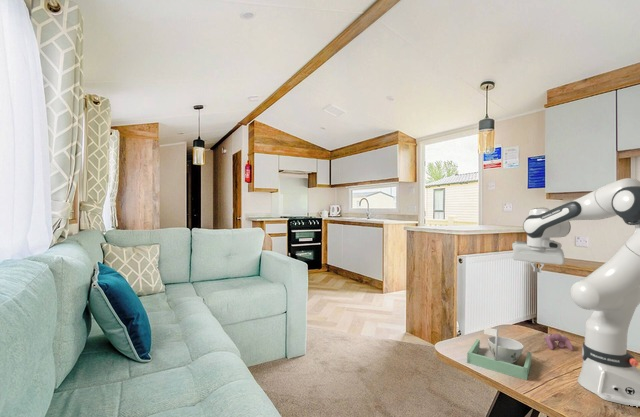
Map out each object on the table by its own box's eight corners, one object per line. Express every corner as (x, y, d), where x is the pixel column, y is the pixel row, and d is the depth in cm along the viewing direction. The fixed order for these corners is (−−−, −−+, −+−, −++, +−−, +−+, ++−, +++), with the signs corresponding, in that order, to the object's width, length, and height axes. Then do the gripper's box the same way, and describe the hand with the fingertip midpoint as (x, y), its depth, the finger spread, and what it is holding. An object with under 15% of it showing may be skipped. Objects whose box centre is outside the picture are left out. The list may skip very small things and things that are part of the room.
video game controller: (568, 351, 145) (564, 334, 148) (575, 350, 141) (570, 333, 144) (545, 350, 145) (541, 333, 148) (551, 349, 141) (547, 332, 144)
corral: (531, 362, 130) (532, 323, 130) (526, 380, 117) (528, 337, 117) (476, 347, 143) (477, 312, 143) (467, 362, 129) (468, 323, 129)
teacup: (530, 367, 126) (531, 347, 126) (503, 370, 124) (503, 349, 124) (502, 350, 141) (502, 332, 141) (477, 352, 139) (477, 334, 138)
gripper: (511, 241, 153) (510, 269, 153) (565, 245, 140) (564, 276, 141) (513, 240, 158) (512, 267, 158) (565, 243, 145) (564, 274, 146)
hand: (537, 272), depth 149 cm, fingers closed
